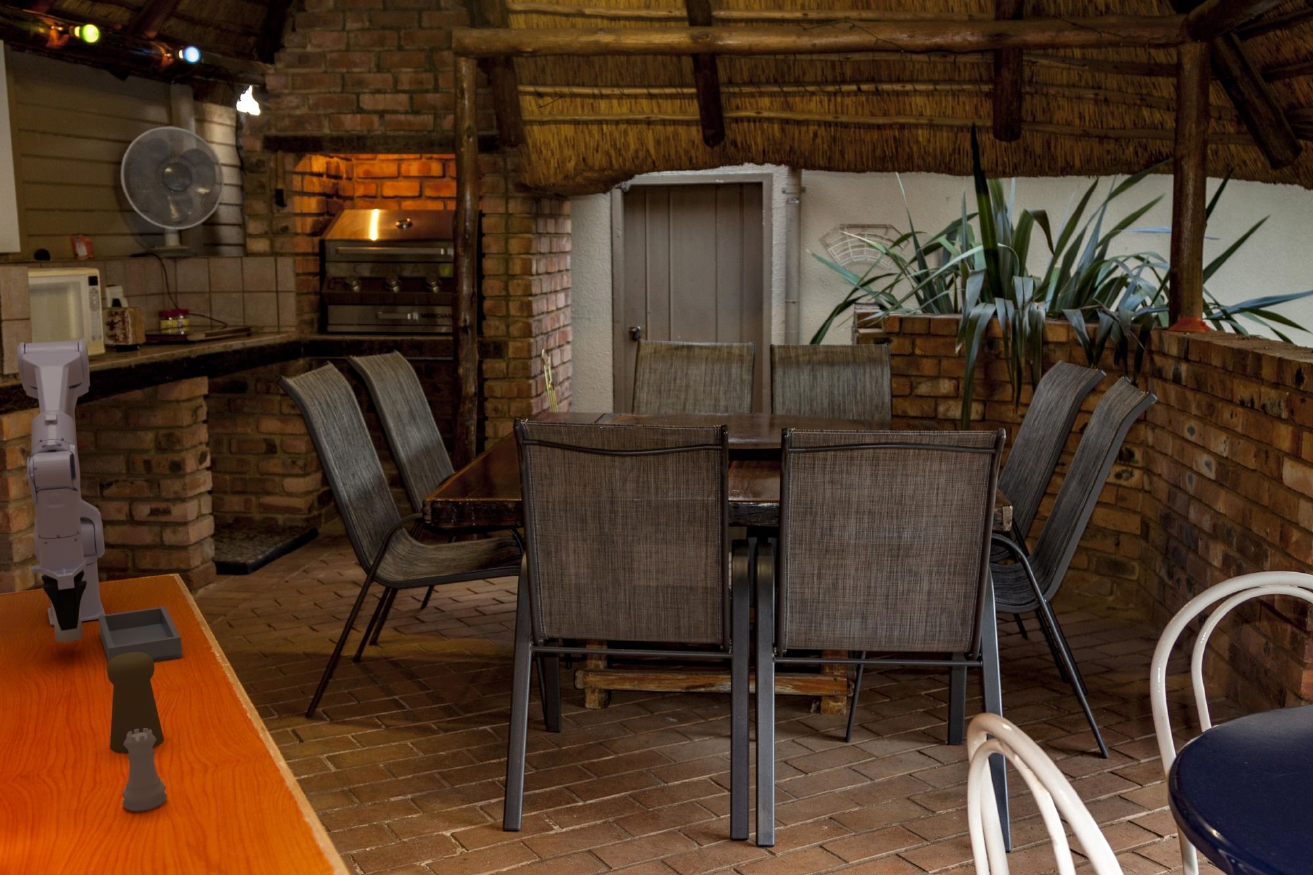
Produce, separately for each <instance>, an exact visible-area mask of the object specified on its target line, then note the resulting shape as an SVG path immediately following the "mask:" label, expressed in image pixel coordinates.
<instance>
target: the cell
mask: <svg viewBox="0 0 1313 875" xmlns="http://www.w3.org/2000/svg"><path fill="white" fill-rule="evenodd" d="M52 607H53V604H52ZM53 618H54V625H53V627H54V636H55V637H54V638H55V642H58V643H68V642H73V641H79V640H81V639H82V638H83V637H84V635H83V627H82V626H83V624H82V622H83V621H81V611H80V609H79V619H78V625H77V628H76V629H71V630H64V631H61V629H60V626H59V624H58V620H57V617H56V613H55V609H54V607H53Z"/></svg>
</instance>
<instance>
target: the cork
mask: <svg viewBox="0 0 1313 875" xmlns="http://www.w3.org/2000/svg"><path fill="white" fill-rule="evenodd" d="M106 672H107V678H108V681H109V682H110V683H111V684H112V687H113V688H112V689H113V690H112V704H111V705H112V707H111V719H110V720H111V723H110V725H111V726H110V739H109V740H110V741H109V749H110V751H112V752H113V753H118V754H125V755H126V754H127V755H128V754H129V751H128V749H127V748H126V747H125V746H124V745H123V743H124V742H125V740H126V739H127V737H126V735H127V733H128V732H130V731H132V734H134V730H135V729H139V733H141V732H143V728H148V730H150V729H151V730H152V735H154V736H155V737H156V741H155V743H154V744H153V747H152V748H153V749H155V748H156V747H159V746H160V745H162V744H163V742H164V741H165V738H164V733H163V730H162V729H163V728H162V726H161V721H160V720H161V719H160V716H159V712H158V707H157V703H156V698H155V695H154V691H153V687H152V681H151V679H152V678H153V676H154V673H155V662H153V659H152V658H151V657H150V655H148V654H146V653H142V652H130V653H124V654H121V655H118V656H116V657H114V658H113V659H111V660H110V662H109V663H108V664H107V667H106Z"/></svg>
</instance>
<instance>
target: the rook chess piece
mask: <svg viewBox="0 0 1313 875" xmlns="http://www.w3.org/2000/svg"><path fill="white" fill-rule="evenodd" d="M126 737H127V739H126V740H125V742H124V743H123V745H124V746H125V747H126V748H127V749H128V751H129V753H127V756H126V758H127V760H128V763H129V765H128V766H129V768H128V769H129V770H128V780H127V782H126V784H125V787H124V789H123V791H122V795H121V796H122V798H123V801H122V802H121V803H122V804H121V805H122V806H123V807H124V808H125V809H126V810H127V811H129V812H131V813H132V812H134V813H137V812H138V813H141V812H147V811H148V812H149V811H152V810H155V809H157V808H159V807H160V806H162V805H163V804H164V803H165V802H166V800H167V797H168V795H167V793H166V792H165V791H166V789H167V787H166V785H165V783H164V782H163V781H162V779H161V777H160V776H159V775H158V772H157V769H156V764H155V757H154V756H155V754H156V751H155V750H154V748H152V747H153V744H154V743H155V741H156V737H155V736H154V735H152V730H151V729H150V730H148V728H143V732H141V733H139V729H135V730H134V734H132V731H130V732H128V733H127V735H126Z"/></svg>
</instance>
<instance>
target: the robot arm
mask: <svg viewBox="0 0 1313 875" xmlns="http://www.w3.org/2000/svg"><path fill="white" fill-rule="evenodd" d="M16 358H17V359H16V360H17V361H16V362H17V370H18V376H19V377H18V378H19V379H20V381H21V384H22V387H23V390H24V391H25V393H26V396H28V397H31V398H33V399H37V400H38V405H39V414H38V415H36V416H35V417H34V418H33V420H31V439H30V440H31V441H30V442H31V448H30V449H31V457H29V456H27V459H26V472H27V473H26V476H27V483H28V487H29V490H30V494H31V499H32V500H31V502H32V506H33V507H35V508H34V513H35V518H34V530H33V540H34V550H35V551H34V552H35V557H36V561H38V562H39V564H36V565H32V566H31V573H32V574H39V573H40V574H42V575H41V581H42V582H43V583H42V588H43V591H44V593H45V594H46V595H47V597H48V598H49V602H50V607H48V608H47V614H48V620H49V625H50V626H54V618H53V607H54V609H55V613H56V617H57V620H58V624H59V626H60V629H61V631H64V630H71V629H76V628H77V625H78V619H79V609H80V611H81V621H82V622H86V621H93V620H94V621H95V620H99V618H98V616H101V615H106V612H105V610H104V606H103V603H102V601H101V597H100V596H101V593H100V583H99V573H98V570H99V569H98V562H97V561H98V559H99V558H102V556H104V555H105V549H106V548H105V537H104V526H103V521H102V514H101V512H100V510H99V508H98V507H96V506H94V505H93V504H90V503H89V502H87V501H85V500H84V499H82V491H81V470H80V461H79V460H80V459H79V456H78V455H79V454H78V443H77V442H78V441H77V430H76V415H75V409H76V406H77V401H78V398H79V397H81V396H82V395H85V394H86V393H89V392H90V391H89V387H90V386H91V383H90V382H91V381H90V361H89V360H90V359H89V351H88V344H87V342H85V341H84V340H83V339H81V340H79V341H78V340H74V341H53V342H52V341H49V342H45V341H44V342H28V343H27V342H20V343H19V345H18V346H17V348H16ZM83 518H85V519H86V518H87V519H86V520H85V519H83ZM81 519H83V520H81ZM52 604H53V607H52Z"/></svg>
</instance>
